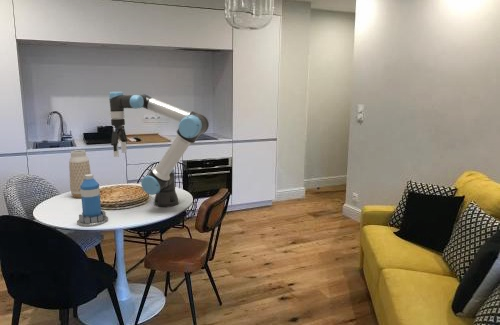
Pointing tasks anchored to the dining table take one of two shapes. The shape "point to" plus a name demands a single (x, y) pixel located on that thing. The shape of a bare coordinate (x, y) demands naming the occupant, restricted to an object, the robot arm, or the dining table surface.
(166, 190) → the robot arm
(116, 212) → the dining table surface
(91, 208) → the water bottle
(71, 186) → the vase
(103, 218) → the grey gear
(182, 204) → the dining table surface
